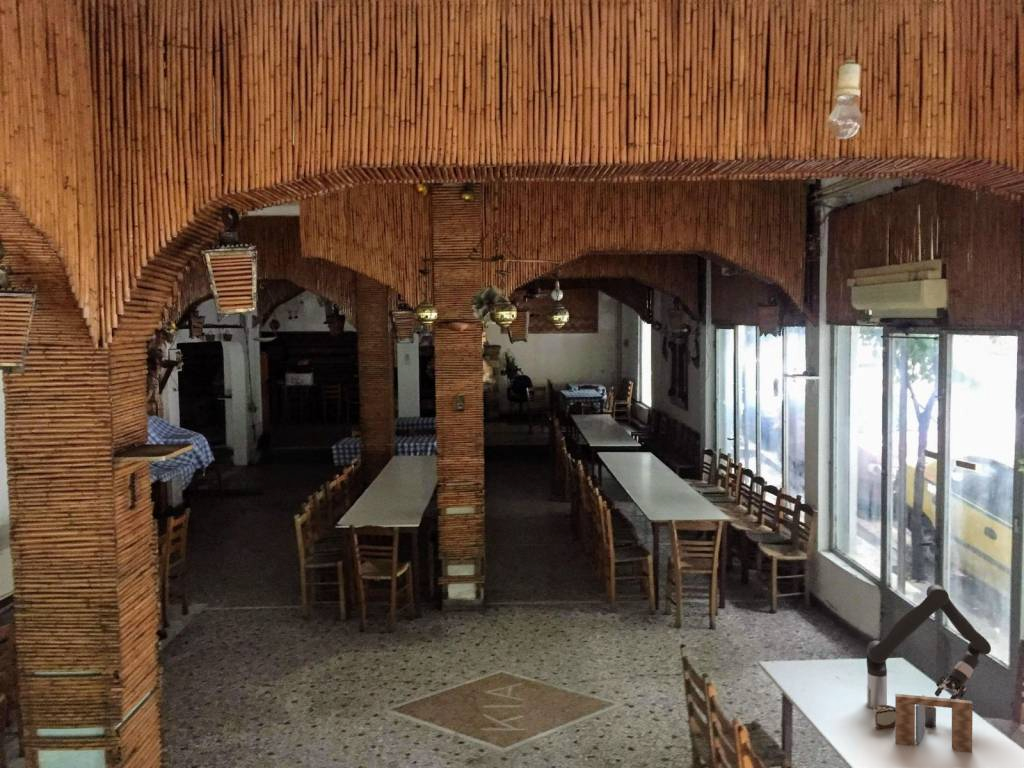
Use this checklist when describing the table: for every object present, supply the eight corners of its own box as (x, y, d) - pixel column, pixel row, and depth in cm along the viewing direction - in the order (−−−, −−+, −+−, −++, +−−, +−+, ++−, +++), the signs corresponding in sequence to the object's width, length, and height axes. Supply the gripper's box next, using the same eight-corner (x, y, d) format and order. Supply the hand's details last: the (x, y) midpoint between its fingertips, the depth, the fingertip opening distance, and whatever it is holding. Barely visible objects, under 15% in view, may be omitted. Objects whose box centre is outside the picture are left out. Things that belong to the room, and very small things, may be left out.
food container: (889, 722, 419) (889, 702, 419) (897, 728, 413) (897, 708, 413) (867, 725, 417) (867, 705, 416) (875, 731, 411) (875, 711, 410)
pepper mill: (924, 727, 413) (924, 705, 413) (922, 722, 419) (922, 701, 418) (936, 728, 412) (937, 707, 411) (934, 723, 417) (935, 702, 416)
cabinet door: (918, 743, 397) (918, 706, 395) (912, 742, 398) (912, 704, 397) (924, 732, 408) (925, 695, 407) (919, 730, 409) (919, 694, 408)
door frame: (896, 744, 398) (896, 696, 396) (895, 741, 401) (895, 693, 399) (972, 752, 388) (972, 703, 387) (970, 749, 391) (971, 700, 390)
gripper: (945, 663, 426) (927, 688, 423) (969, 673, 412) (950, 700, 409) (954, 672, 428) (935, 697, 425) (977, 682, 414) (958, 709, 411)
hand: (943, 699), depth 417 cm, fingers open, 8 cm apart
